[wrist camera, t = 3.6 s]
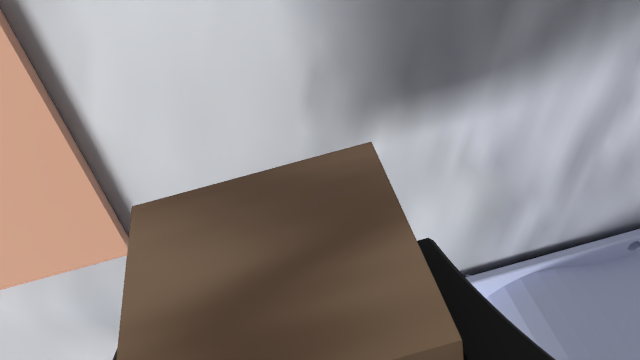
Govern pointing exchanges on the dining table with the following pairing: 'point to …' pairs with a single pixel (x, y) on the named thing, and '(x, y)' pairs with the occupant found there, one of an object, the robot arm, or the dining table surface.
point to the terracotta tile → (45, 183)
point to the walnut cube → (283, 270)
